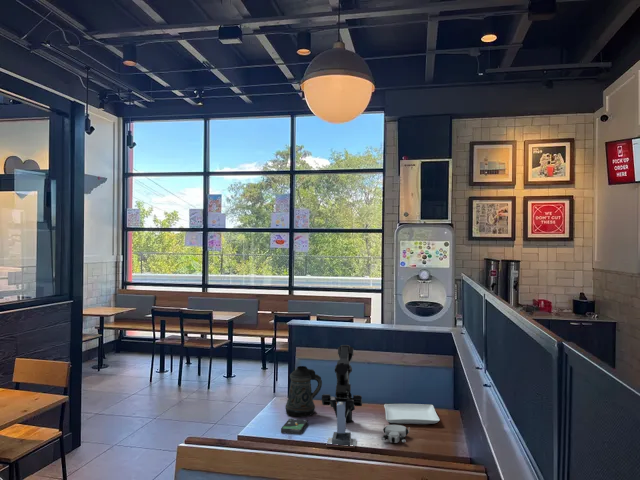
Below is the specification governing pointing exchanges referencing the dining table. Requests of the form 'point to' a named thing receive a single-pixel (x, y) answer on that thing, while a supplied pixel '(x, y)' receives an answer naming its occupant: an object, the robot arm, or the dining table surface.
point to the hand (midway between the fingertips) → (341, 417)
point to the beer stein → (302, 392)
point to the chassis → (342, 439)
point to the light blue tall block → (341, 417)
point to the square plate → (411, 414)
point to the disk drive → (294, 426)
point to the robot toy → (395, 433)
